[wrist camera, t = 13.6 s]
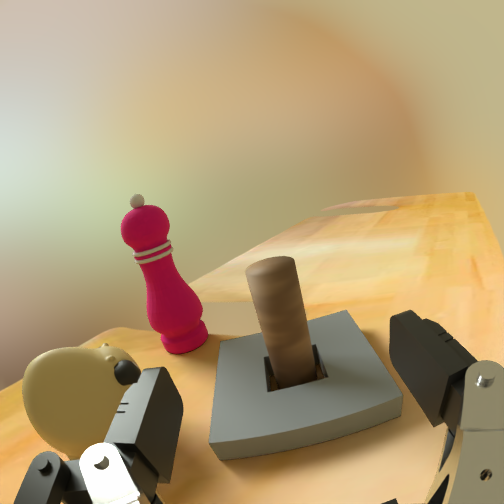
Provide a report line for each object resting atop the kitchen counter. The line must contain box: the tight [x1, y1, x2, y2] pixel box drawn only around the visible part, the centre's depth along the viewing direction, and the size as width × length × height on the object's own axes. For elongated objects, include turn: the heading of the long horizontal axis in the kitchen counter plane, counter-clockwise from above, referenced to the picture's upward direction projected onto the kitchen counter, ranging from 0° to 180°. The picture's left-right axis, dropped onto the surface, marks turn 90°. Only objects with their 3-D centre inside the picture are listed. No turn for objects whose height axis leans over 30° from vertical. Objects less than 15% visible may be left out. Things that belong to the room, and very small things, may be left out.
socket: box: [209, 310, 403, 460], centre depth 24 cm, size 14×14×2 cm
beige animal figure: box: [22, 343, 141, 461], centre depth 20 cm, size 10×12×11 cm
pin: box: [245, 256, 318, 390], centre depth 22 cm, size 4×4×12 cm
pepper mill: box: [121, 194, 208, 354], centre depth 34 cm, size 7×7×20 cm
